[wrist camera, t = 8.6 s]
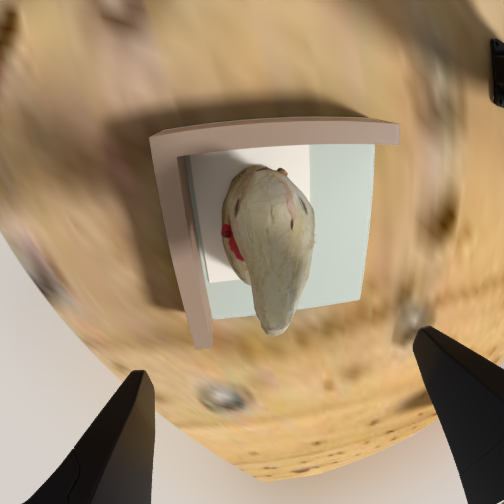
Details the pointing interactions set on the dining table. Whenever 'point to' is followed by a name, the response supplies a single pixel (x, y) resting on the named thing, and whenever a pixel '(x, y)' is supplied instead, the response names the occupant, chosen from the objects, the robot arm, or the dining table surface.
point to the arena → (299, 172)
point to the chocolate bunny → (269, 241)
